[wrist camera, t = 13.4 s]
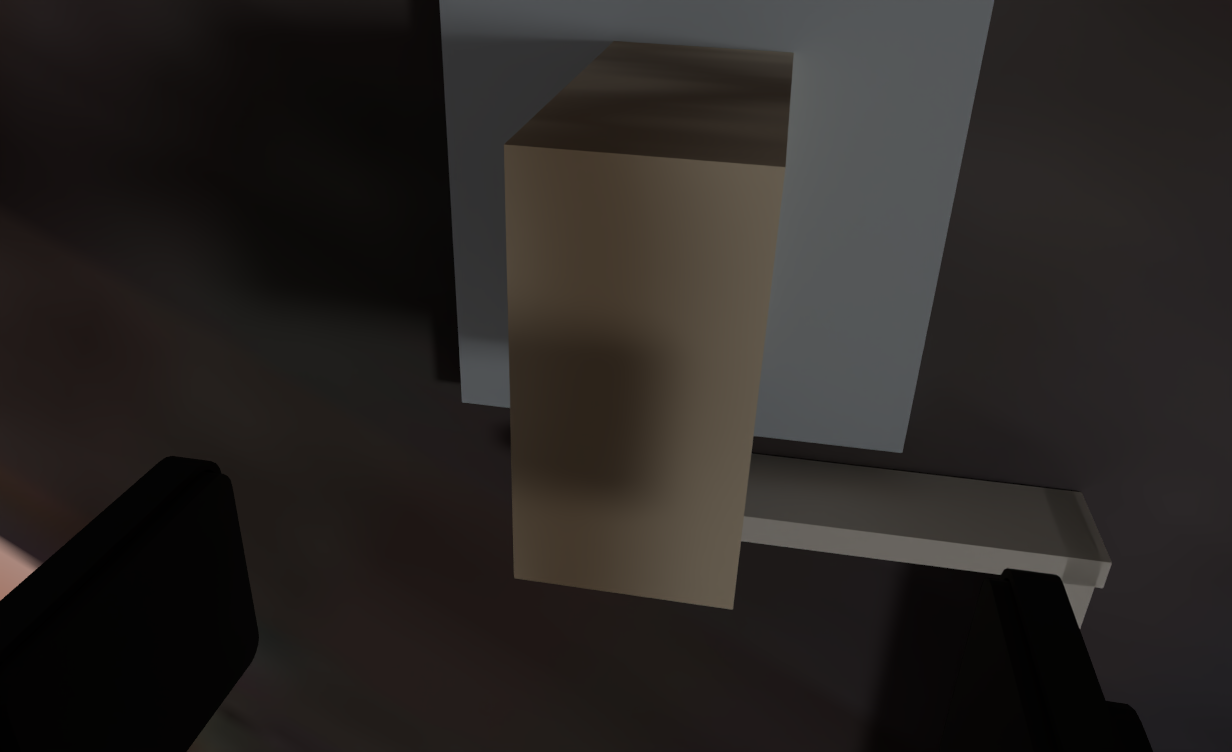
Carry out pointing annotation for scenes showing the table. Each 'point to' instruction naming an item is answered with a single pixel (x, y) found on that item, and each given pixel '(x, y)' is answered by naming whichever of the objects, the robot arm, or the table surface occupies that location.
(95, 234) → the table surface
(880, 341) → the mat
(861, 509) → the frame
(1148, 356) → the table surface
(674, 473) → the block
